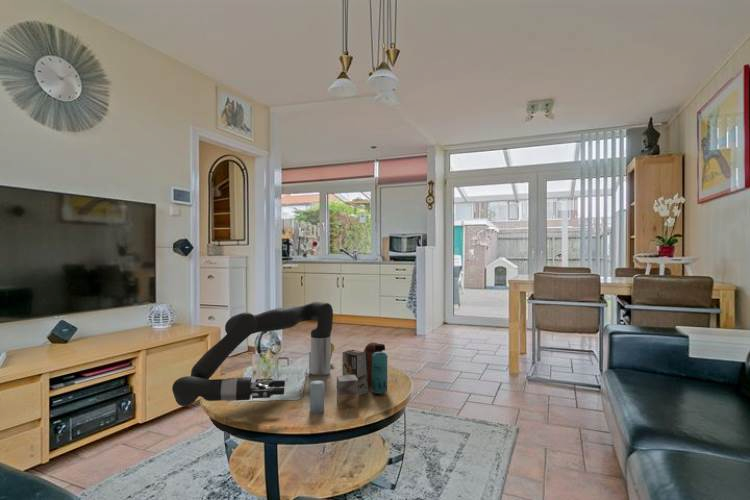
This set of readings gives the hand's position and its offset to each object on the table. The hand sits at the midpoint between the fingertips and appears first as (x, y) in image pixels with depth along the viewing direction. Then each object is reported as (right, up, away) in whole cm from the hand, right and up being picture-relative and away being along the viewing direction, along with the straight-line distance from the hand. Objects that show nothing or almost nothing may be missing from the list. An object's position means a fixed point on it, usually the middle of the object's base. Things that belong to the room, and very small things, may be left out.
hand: (284, 387), depth 145 cm
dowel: (+11, -9, +2) cm, 15 cm away
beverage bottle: (+34, -10, +20) cm, 40 cm away
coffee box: (+24, -10, +23) cm, 34 cm away
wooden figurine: (+31, -10, +32) cm, 46 cm away
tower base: (+22, -10, +9) cm, 25 cm away
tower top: (+21, -5, +9) cm, 24 cm away
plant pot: (+6, -10, +66) cm, 67 cm away
